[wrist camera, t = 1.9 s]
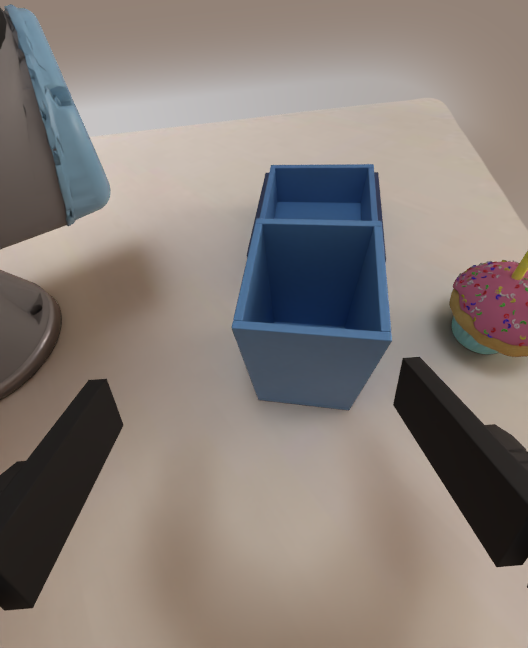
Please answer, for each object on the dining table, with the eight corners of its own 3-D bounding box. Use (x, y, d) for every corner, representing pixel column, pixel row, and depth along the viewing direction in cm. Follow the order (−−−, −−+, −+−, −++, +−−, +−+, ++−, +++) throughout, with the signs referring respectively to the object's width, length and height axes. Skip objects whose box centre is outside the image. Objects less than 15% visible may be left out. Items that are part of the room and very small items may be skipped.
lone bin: (349, 410, 25) (392, 340, 14) (258, 399, 26) (231, 328, 15) (349, 325, 29) (381, 220, 18) (270, 320, 30) (256, 218, 19)
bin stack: (375, 289, 31) (390, 248, 26) (252, 283, 33) (244, 243, 28) (369, 204, 38) (381, 159, 33) (268, 203, 40) (264, 160, 35)
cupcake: (412, 318, 29) (476, 220, 19) (476, 283, 30) (568, 174, 20) (484, 391, 25) (617, 316, 15) (555, 346, 26) (721, 249, 16)
